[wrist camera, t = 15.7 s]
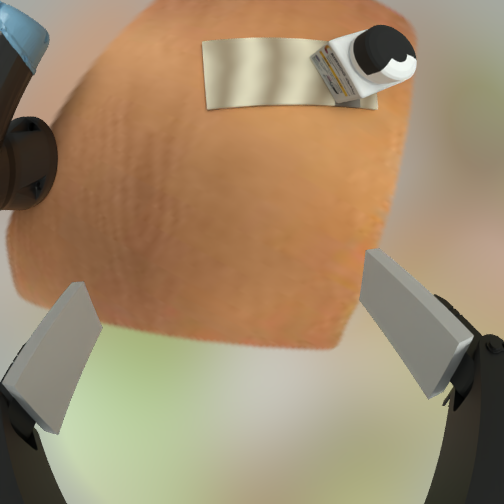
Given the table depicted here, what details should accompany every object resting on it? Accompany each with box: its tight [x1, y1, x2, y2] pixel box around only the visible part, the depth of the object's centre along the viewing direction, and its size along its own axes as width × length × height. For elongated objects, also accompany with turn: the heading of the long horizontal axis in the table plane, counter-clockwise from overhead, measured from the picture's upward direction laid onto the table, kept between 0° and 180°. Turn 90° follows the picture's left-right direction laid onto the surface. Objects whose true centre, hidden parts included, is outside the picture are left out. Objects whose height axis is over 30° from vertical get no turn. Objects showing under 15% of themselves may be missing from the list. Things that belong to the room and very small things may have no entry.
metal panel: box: [202, 38, 378, 110], centre depth 30 cm, size 24×10×1 cm, turn 94°
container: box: [310, 25, 416, 103], centre depth 24 cm, size 8×8×13 cm
